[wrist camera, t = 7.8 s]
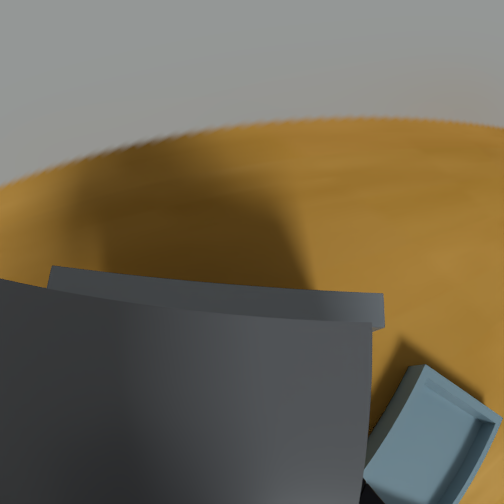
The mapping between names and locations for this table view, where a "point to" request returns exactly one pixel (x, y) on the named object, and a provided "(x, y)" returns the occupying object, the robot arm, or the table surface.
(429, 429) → the tray
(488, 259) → the table surface
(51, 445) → the grey tall block
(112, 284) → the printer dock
